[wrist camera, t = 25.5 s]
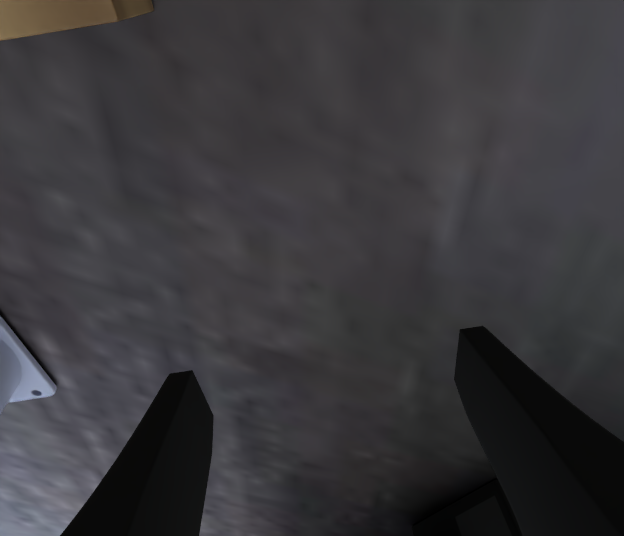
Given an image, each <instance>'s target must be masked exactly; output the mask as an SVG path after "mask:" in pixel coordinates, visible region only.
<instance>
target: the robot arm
mask: <svg viewBox="0 0 624 536" xmlns="http://www.w3.org/2000/svg"><path fill="white" fill-rule="evenodd" d="M454 380H455V383H456V386H457V389H458V392H459V395H460V398H461V400H462V403H463V406H464V409H465V411H466V414H467V416H468V419H469V421H470V423H471V425H472V427H473V429H474V431H475V433H476V435H477V437H478V439H479V441H480V444H481V446H482V448H483V450H484V452H485V454H486V456H487V458H488V460H489V462H490V464H491V466H492V468H493V470H494V472H495V474H496V476H497V478H498V480H499V482H500V484H501V486H502V488H503V490H504V492H505V495H506V497H507V499H508V501H509V503H510V505H511V508H512V510H513V512H514V514H515V517H516V519H517V522H518V524H519V527H520V530H521V532H522V535H523V536H624V442H623V441H622V440H620V439H619V438H617V437H616V436H615V435H613V434H612V433H610V432H609V431H608V430H606V429H605V428H604V427H602V426H601V425H599V424H598V423H597V422H595V421H594V420H593V419H592V418H590V417H589V416H588V415H586V414H585V413H584V412H582V411H581V410H580V409H579V408H577V407H576V406H575V405H573V404H572V403H571V402H570V401H568V400H567V399H566V398H565V397H563V396H562V395H561V394H560V393H559V392H557V391H556V390H555V389H554V388H553V387H551V386H550V385H549V384H548V383H547V382H545V381H544V380H543V379H542V378H541V377H540V376H538V375H537V374H536V373H535V372H534V371H533V370H531V369H530V368H529V367H528V366H527V365H526V364H525V363H523V362H522V361H521V360H520V359H519V358H518V357H517V356H516V355H515V354H513V353H512V352H511V351H510V350H509V349H508V348H507V347H506V346H505V345H504V344H502V343H501V342H500V341H499V340H498V339H497V338H496V337H495V336H494V335H493V334H492V333H491V332H489V331H488V330H487V329H486V328H485V327H484V326H479V327H473V328H466V329H460V333H459V342H458V351H457V359H456V368H455V377H454ZM56 390H57V387H56V385H55V384H54V382H53V381H52V380H51V379H50V377H49V376H48V375H47V374H46V372H45V371H44V370H43V369H42V367H41V366H40V365H39V364H38V362H37V361H36V360H35V358H34V357H33V356H32V355H31V353H30V352H29V351H28V350H27V348H26V347H25V346H24V345H23V343H22V342H21V341H20V340H19V338H18V337H17V336H16V335H15V333H14V332H13V331H12V329H11V328H10V327H9V326H8V324H7V323H6V322H5V321H4V319H3V318H2V317H1V316H0V414H1V413H2V411H3V409H4V408H5V406H6V405H7V403H9V402H16V401H23V400H29V399H36V398H42V397H49V396H52V395H54V393H55V392H56ZM212 441H213V414H212V411H211V409H210V407H209V405H208V403H207V401H206V399H205V396H204V394H203V392H202V390H201V388H200V386H199V384H198V381H197V379H196V377H195V375H194V373H193V371H192V370H191V371H184V372H178V373H171V374H169V376H168V377H167V378H166V380H165V382H164V383H163V385H162V387H161V388H160V390H159V392H158V394H157V395H156V397H155V399H154V400H153V402H152V404H151V405H150V407H149V409H148V410H147V412H146V414H145V415H144V417H143V418H142V420H141V422H140V423H139V425H138V427H137V428H136V430H135V431H134V433H133V434H132V436H131V437H130V439H129V441H128V442H127V444H126V445H125V447H124V448H123V450H122V452H121V453H120V455H119V456H118V458H117V459H116V461H115V462H114V463H113V465H112V466H111V468H110V469H109V471H108V472H107V474H106V475H105V476H104V478H103V479H102V481H101V482H100V484H99V485H98V486H97V488H96V489H95V491H94V492H93V494H92V495H91V496H90V498H89V499H88V500H87V502H86V503H85V504H84V506H83V507H82V508H81V510H80V511H79V512H78V514H77V515H76V516H75V518H74V519H73V520H72V521H71V523H70V524H69V525H68V526H67V528H66V529H65V530H64V531H63V533H62V534H61V535H60V536H199V532H200V526H201V519H202V513H203V507H204V501H205V495H206V488H207V482H208V476H209V469H210V463H211V456H212Z"/></svg>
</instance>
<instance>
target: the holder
mask: <svg viewBox="0 0 624 536" xmlns="http://www.w3.org/2000/svg"><path fill="white" fill-rule="evenodd" d="M152 11H154V8H153V4H152V1H151V0H0V41H2V40H9V39H15V38H21V37H27V36H33V35H39V34H45V33H51V32H57V31H64V30H70V29H76V28H82V27H88V26H94V25H100V24H106V23H112V22H118V21H122V20H125V19H128V18H132V17H135V16H139V15H142V14H146V13H149V12H152Z"/></svg>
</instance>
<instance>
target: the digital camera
mask: <svg viewBox="0 0 624 536" xmlns="http://www.w3.org/2000/svg"><path fill="white" fill-rule="evenodd" d="M412 530H413V534H414V536H523V535H522V532H521V530H520V527H519V524H518V522H517V519H516V517H515V514H514V512H513V510H512V508H511V505H510V503H509V501H508V499H507V497H506V495H505V492H504V490H503V488H502V486H501V484H500V482H499V481H498V480H494V481H492V482H490V483H488V484H487V485H485V486H483V487H481V488H479V489H478V490H476V491H474V492H472V493H471V494H469V495H467V496H465V497H463V498H462V499H460V500H458V501H456V502H455V503H453V504H451V505H449V506H448V507H446V508H444V509H442V510H441V511H439V512H437V513H435V514H434V515H432V516H430V517H428V518H427V519H425V520H423V521H421V522H420V523H418V524H416V525H415V526H413V527H412Z"/></svg>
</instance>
